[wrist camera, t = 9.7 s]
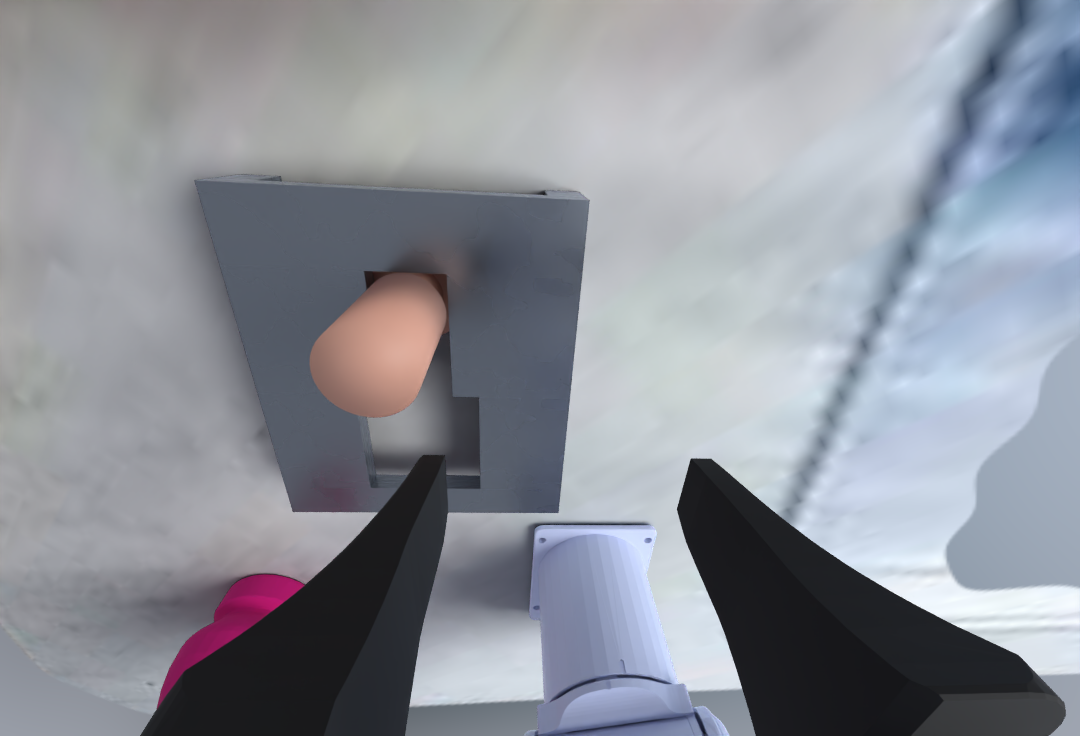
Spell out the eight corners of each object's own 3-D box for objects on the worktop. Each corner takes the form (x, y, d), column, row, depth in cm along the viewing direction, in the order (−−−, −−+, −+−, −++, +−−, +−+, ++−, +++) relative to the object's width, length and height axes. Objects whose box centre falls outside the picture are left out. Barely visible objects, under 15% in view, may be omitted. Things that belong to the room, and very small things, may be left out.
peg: (471, 329, 21) (446, 434, 14) (381, 327, 21) (304, 432, 14) (469, 240, 19) (437, 304, 12) (369, 235, 19) (271, 298, 11)
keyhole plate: (554, 475, 26) (558, 512, 23) (316, 472, 25) (292, 511, 22) (579, 191, 19) (589, 200, 16) (242, 174, 18) (194, 180, 15)
